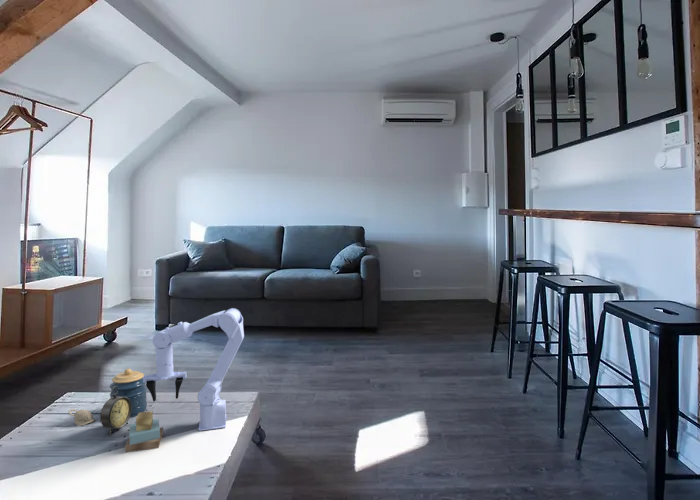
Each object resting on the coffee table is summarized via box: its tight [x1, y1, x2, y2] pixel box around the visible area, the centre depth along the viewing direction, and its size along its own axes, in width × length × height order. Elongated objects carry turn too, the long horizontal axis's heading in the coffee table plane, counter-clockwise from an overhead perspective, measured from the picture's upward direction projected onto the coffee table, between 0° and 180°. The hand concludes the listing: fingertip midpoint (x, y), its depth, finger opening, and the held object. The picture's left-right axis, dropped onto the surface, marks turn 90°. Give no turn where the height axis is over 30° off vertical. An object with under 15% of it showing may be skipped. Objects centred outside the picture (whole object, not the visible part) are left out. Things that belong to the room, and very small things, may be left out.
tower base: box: [124, 426, 164, 453], centre depth 140 cm, size 10×10×3 cm
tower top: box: [129, 418, 160, 445], centre depth 140 cm, size 9×9×3 cm
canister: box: [109, 368, 148, 418], centre depth 163 cm, size 13×13×18 cm
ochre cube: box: [135, 410, 154, 431], centre depth 139 cm, size 4×4×4 cm
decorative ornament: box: [68, 408, 96, 427], centre depth 154 cm, size 4×8×5 cm, turn 87°
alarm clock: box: [99, 386, 132, 437], centre depth 148 cm, size 11×5×16 cm, turn 168°
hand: (165, 399), depth 151 cm, fingers open, 7 cm apart
